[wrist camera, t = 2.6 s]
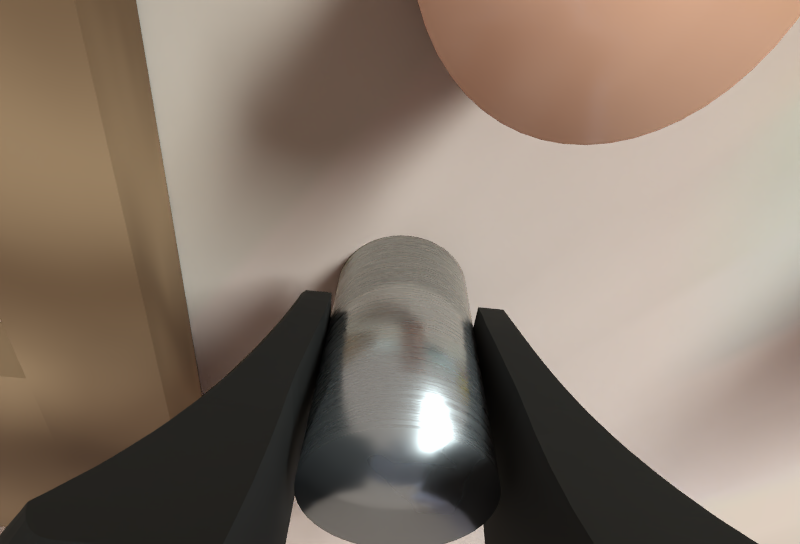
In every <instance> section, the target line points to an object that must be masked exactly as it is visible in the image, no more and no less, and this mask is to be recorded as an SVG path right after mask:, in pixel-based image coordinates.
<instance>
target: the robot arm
mask: <svg viewBox="0 0 800 544" xmlns="http://www.w3.org/2000/svg"><path fill="white" fill-rule="evenodd" d="M331 296H332V293H328V292H318V291H308V290H306V291H304V292H303V293H302V294H301V295H300V296H299V298H298V299H297V300H296V302H295V303H294V304H293V306H292V307H291V308H290V310H289V311H288V312H287V313H286V314H285V316H284V317H283V318H282V319H281V320H280V322H279V323H278V324H277V325H276V326H275V327H274V328H273V330H272V331H271V332H270V333H269V334H268V335H267V336H266V337H265V338H264V339H263V340H262V342H261V343H260V344H259V345H258V346H257V347H256V348H255V349H254V350H253V351H252V352H251V353H250V354H249V355H248V356H247V357H246V358H245V359H244V360H243V361H242V362H240V363H239V364H238V365H237V366H236V367H235V368H234V369H233V370H232V371H231V372H230V373H229V374H228V375H227V376H225V377H224V378H223V379H222V380H221V381H220V382H218V383H217V384H216V385H215V386H214V387H213V388H211V389H210V390H209V391H208V392H206V393H205V394H204V395H203V396H201V397H200V398H199V399H198V400H196V401H195V402H194V403H192V404H191V405H190V406H188V407H187V408H186V409H184V410H183V411H182V412H180V413H179V414H177V415H176V416H175V417H173V418H172V419H171V420H169V421H168V422H166V423H165V424H163V425H162V426H161V427H159V428H158V429H156V430H155V431H153V432H152V433H150V434H148V435H147V436H145V437H143V438H142V439H140V440H139V441H137V442H135V443H134V444H132V445H131V446H129V447H127V448H126V449H124V450H123V451H121V452H119V453H118V454H116V455H115V456H113V457H111V458H109V459H108V460H106V461H104V462H102V463H101V464H99V465H97V466H95V467H94V468H92V469H90V470H88V471H86V472H84V473H82V474H80V475H78V476H76V477H75V478H73V479H71V480H69V481H67V482H65V483H63V484H61V485H59V486H57V487H55V488H53V489H51V490H50V491H48V492H46V493H44V494H42V495H40V496H38V497H36V498H34V499H32V500H30V501H28V502H27V503H26V504H25V506H24V507H23V508H22V509H21V511H20V512H19V513H18V514H17V515H16V516H15V518H14V519H13V520H12V521H11V522H10V523H9V525H8V526H7V527H6V528H5V530H4V531H3V532H2V534H1V535H0V544H286V538H287V533H288V527H289V522H290V517H291V511H292V506H293V501H294V496H295V491H294V482H295V476H296V472H297V467H298V463H299V458H300V454H301V449H302V445H303V440H304V436H305V431H306V427H307V422H308V418H309V413H310V408H311V404H312V399H313V395H314V390H315V386H316V381H317V377H318V372H319V368H320V363H321V359H322V354H323V350H324V346H325V341H326V336H327V332H328V327H329V323H330V318H331ZM473 330H474V336H475V342H476V348H477V353H478V359H479V365H480V371H481V376H482V382H483V388H484V394H485V399H486V405H487V411H488V417H489V422H490V428H491V434H492V440H493V445H494V451H495V457H496V463H497V468H498V474H499V480H500V486H501V497H500V500H499V504H498V506H497V508H496V510H495V512H494V513H493V514H492V516H491V517H490V518H489V519H488V520H487V521H486V522H485V523H484V537H485V544H758V543H756V542H754V541H753V540H751V539H750V538H748V537H747V536H745V535H744V534H742V533H740V532H739V531H737V530H736V529H734V528H733V527H731V526H730V525H728V524H726V523H725V522H723V521H722V520H720V519H719V518H717V517H716V516H714V515H713V514H711V513H710V512H709V511H707V510H706V509H704V508H703V507H702V506H700V505H699V504H697V503H696V502H695V501H693V500H692V499H690V498H689V497H688V496H686V495H685V494H683V493H682V492H681V491H679V490H678V489H677V488H675V487H674V486H673V485H671V484H670V483H669V482H667V481H666V480H665V479H664V478H662V477H661V476H660V475H658V474H657V473H656V472H655V471H653V470H652V469H651V468H650V467H648V466H647V465H646V464H645V463H644V462H642V461H641V460H640V459H639V458H638V457H636V456H635V455H634V454H633V453H631V452H630V451H629V450H628V449H627V448H626V447H624V446H623V445H622V444H621V443H620V442H619V441H618V440H617V439H615V438H614V437H613V436H612V435H611V434H610V433H609V432H608V431H607V430H606V429H605V428H604V427H603V426H602V425H601V424H599V423H598V422H597V421H596V420H595V419H594V418H593V417H592V416H591V415H590V414H589V413H588V412H587V411H586V410H585V409H584V408H583V407H582V406H581V405H580V404H579V403H578V402H577V401H576V399H575V398H574V397H573V396H572V395H571V394H570V393H569V392H568V391H567V390H566V388H565V387H564V386H563V385H562V384H561V383H560V382H559V381H558V379H557V378H556V377H555V376H554V375H553V374H552V372H551V371H550V370H549V369H548V368H547V366H546V365H545V364H544V363H543V361H542V360H541V359H540V358H539V356H538V355H537V354H536V353H535V351H534V350H533V349H532V347H531V346H530V345H529V343H528V342H527V341H526V339H525V338H524V337H523V335H522V334H521V333H520V331H519V330H518V329H517V327H516V326H515V325H514V323H513V322H512V321H511V319H510V318H509V317H508V315H507V314H506V313H505V311H504V310H500V309H489V308H479V307H478V311H477V315H476V319H475V323H474V327H473Z"/></svg>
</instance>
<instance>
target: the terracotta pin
mask: <svg viewBox="0 0 800 544" xmlns="http://www.w3.org/2000/svg"><path fill="white" fill-rule="evenodd" d="M418 4H419V7H420V10H421V14H422V17H423V20H424V24H425V27H426V30H427V32H428V34H429V37H430V39H431V41H432V43H433V46H434V48H435V50H436V53H437V54H438V56H439V58H440V59H441V61H442V63H443V64H444V66H445V68H446V69H447V71H448V73H449V74H450V76H451V77H452V78H453V79H454V81H455V82H456V83H457V84H458V86H459V87H460V88H461V89H462V91H463V92H464V93H465V94H466V95H467V96H468V97H469V98H470V99H471V100H472V101H473V102H474V103H475V104H476V105H478V106H479V107H480V108H481V109H482V110H483V111H485V112H486V113H487V114H489V115H490V116H492V117H493V118H495V119H496V120H497V121H499V122H500V123H502V124H504V125H506V126H508V127H510V128H512V129H514V130H516V131H518V132H520V133H523V134H526V135H529V136H532V137H535V138H538V139H541V140H546V141H551V142H556V143H562V144H578V145H591V144H604V143H612V142H617V141H622V140H627V139H632V138H636V137H639V136H642V135H645V134H648V133H651V132H654V131H657V130H660V129H662V128H664V127H666V126H669V125H671V124H673V123H675V122H678V121H680V120H682V119H684V118H685V117H687V116H689V115H691V114H692V113H694V112H696V111H698V110H699V109H701V108H703V107H705V106H706V105H708V104H709V103H711V102H712V101H713V100H715V99H716V98H718V97H719V96H721V95H722V94H723V93H725V92H726V91H728V90H729V89H730V88H731V87H733V86H734V85H735V84H736V83H737V82H738V81H740V80H741V79H742V78H743V77H744V76H746V75H747V74H748V73H749V72H750V71H751V70H753V69H754V68H755V67H756V66H757V64H758V63H759V62H760V61H761V60H762V59H763V58H764V57H765V56H766V55H767V54H768V53H769V52H770V51H771V50H772V49H773V48H774V47H775V46H776V45H777V44H778V42H779V41H780V40H781V39H782V38H783V36H784V35H785V34H786V33H787V32H788V30H789V29H790V28H791V27H792V25H793V24H794V23H795V22H796V21H797V19H798V18H799V16H800V0H418Z"/></svg>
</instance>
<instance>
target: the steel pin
mask: <svg viewBox="0 0 800 544" xmlns="http://www.w3.org/2000/svg"><path fill="white" fill-rule="evenodd" d="M294 491H295V497H296V500H297V503H298V505H299V506H300V508H301V510H302V511H303V512H304V514H305V515H306V516H307V517H308V518H309V519H310V520H311V521H312V522H313V523H314V524H316V525H317V526H319V527H320V528H321V529H323V530H325V531H326V532H328V533H330V534H332V535H334V536H336V537H339V538H341V539H343V540H346V541H349V542H352V543H356V544H445V543H448V542H451V541H454V540H457V539H459V538H461V537H464V536H466V535H468V534H469V533H471V532H473V531H475V530H476V529H477V528H479V527H480V526H482V525H483V524H484V523H485V522H486V521H487V520H488V519H489V518H490V517H491V516H492V514H493V513H494V512H495V510H496V508H497V506H498V504H499V500H500V497H501V486H500V480H499V474H498V468H497V463H496V457H495V451H494V445H493V440H492V434H491V428H490V422H489V417H488V411H487V405H486V399H485V394H484V388H483V382H482V376H481V371H480V365H479V359H478V353H477V348H476V342H475V336H474V330H473V325H472V319H471V313H470V307H469V302H468V296H467V290H466V284H465V279H464V275H463V272H462V270H461V268H460V266H459V264H458V263H457V261H456V260H455V259H454V258H453V257H452V256H451V255H450V254H449V253H448V252H447V251H446V250H445V249H443V248H442V247H440V246H438V245H437V244H435V243H433V242H430V241H428V240H425V239H422V238H418V237H412V236H391V237H385V238H381V239H378V240H375V241H372V242H370V243H368V244H366V245H365V246H363V247H361V248H360V249H359V250H357V251H356V252H355V253H354V254H353V255H352V256H351V257H350V258H349V259H348V261H347V262H346V264H345V265H344V267H343V269H342V271H341V274H340V278H339V282H338V286H337V291H336V295H335V300H334V305H333V309H332V314H331V318H330V323H329V327H328V332H327V336H326V341H325V346H324V350H323V354H322V359H321V363H320V368H319V372H318V377H317V381H316V386H315V390H314V395H313V399H312V404H311V408H310V413H309V418H308V422H307V427H306V431H305V436H304V440H303V445H302V449H301V454H300V458H299V463H298V467H297V472H296V476H295V482H294Z"/></svg>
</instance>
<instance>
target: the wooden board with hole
mask: <svg viewBox="0 0 800 544" xmlns="http://www.w3.org/2000/svg"><path fill="white" fill-rule="evenodd" d="M0 320H1V322H0V526H5V527H7V526H8V525H9V523H10V522H11V521H12V520H13V519H14V518H15V516H16V515H17V514H18V513H19V512H20V511H21V509H22V508H23V507H24V506H25V504H26V503H27V502H28V501H30V500H32V499H34V498H36V497H38V496H40V495H42V494H44V493H46V492H48V491H50V490H51V489H53V488H55V487H57V486H59V485H61V484H63V483H65V482H67V481H69V480H71V479H73V478H75V477H76V476H78V475H80V474H82V473H84V472H86V471H88V470H90V469H92V468H94V467H95V466H97V465H99V464H101V463H102V462H104V461H106V460H108V459H109V458H111V457H113V456H115V455H116V454H118V453H119V452H121V451H123V450H124V449H126V448H127V447H129V446H131V445H132V444H134V443H135V442H137V441H139V440H140V439H142V438H143V437H145V436H147V435H148V434H150V433H152V432H153V431H155V430H156V429H158V428H159V427H161V426H162V425H163V424H165V423H166V422H168V421H169V420H171V419H172V418H173V417H175V416H176V415H177V414H179V413H180V412H182V411H183V410H184V409H186V408H187V407H188V406H190V405H191V404H192V403H194V402H195V401H196V400H198V399H199V398H200V397H201V396H202V394H201V388H200V382H199V376H198V370H197V364H196V358H195V352H194V346H193V340H192V334H191V328H190V322H189V316H188V310H187V304H186V298H185V292H184V286H183V280H182V274H181V268H180V262H179V256H178V250H177V244H176V238H175V232H174V226H173V220H172V214H171V208H170V202H169V196H168V190H167V184H166V178H165V172H164V166H163V160H162V154H161V148H160V142H159V136H158V130H157V124H156V118H155V112H154V106H153V100H152V94H151V88H150V82H149V76H148V70H147V64H146V58H145V52H144V46H143V40H142V34H141V28H140V22H139V16H138V10H137V4H136V0H0Z"/></svg>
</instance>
